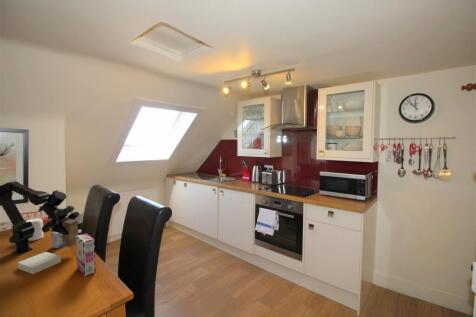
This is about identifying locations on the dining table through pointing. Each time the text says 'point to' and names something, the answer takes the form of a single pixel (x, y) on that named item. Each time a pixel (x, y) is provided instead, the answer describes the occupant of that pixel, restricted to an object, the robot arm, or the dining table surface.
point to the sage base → (39, 262)
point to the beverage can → (36, 228)
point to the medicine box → (56, 240)
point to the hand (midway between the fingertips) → (72, 232)
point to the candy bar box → (85, 254)
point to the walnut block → (70, 233)
